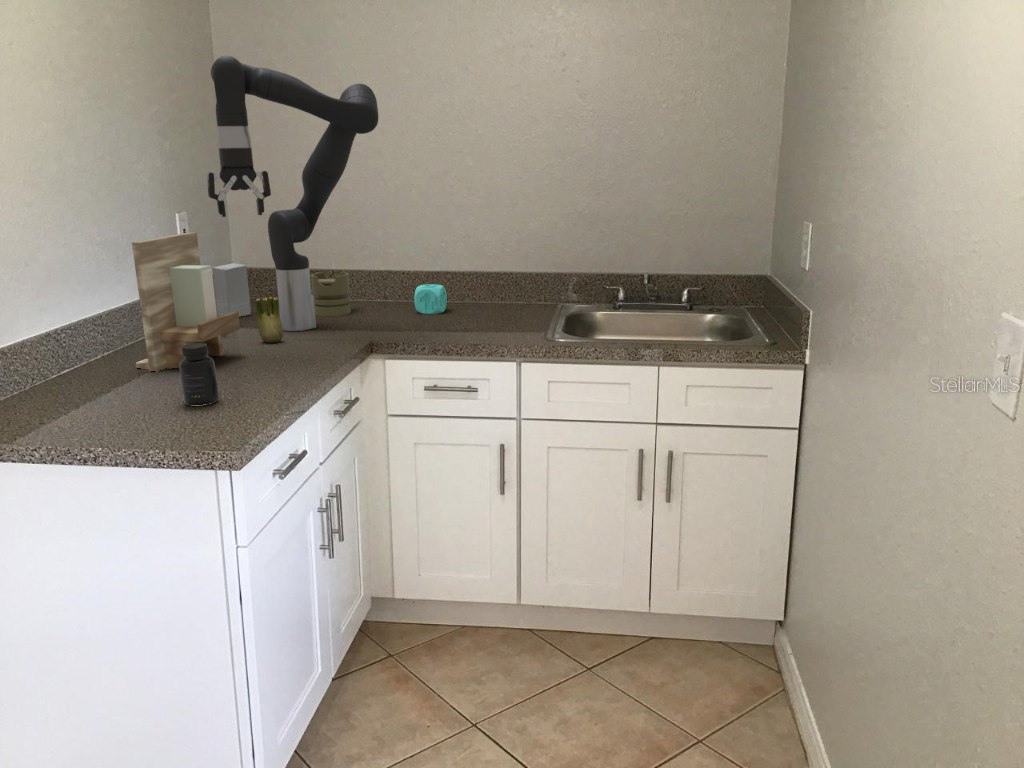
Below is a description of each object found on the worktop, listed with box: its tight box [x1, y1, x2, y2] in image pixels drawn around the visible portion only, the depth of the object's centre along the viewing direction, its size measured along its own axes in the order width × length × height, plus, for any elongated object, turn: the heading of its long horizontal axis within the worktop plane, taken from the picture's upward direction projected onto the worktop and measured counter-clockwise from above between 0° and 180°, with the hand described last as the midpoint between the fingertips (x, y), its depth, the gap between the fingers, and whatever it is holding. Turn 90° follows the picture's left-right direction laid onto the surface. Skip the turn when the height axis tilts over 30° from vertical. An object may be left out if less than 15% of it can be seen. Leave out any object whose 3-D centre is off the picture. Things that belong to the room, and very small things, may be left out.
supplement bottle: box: [178, 343, 220, 405], centre depth 172 cm, size 7×7×12 cm
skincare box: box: [211, 262, 252, 318], centre depth 259 cm, size 8×7×16 cm
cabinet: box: [169, 264, 218, 327], centre depth 203 cm, size 8×5×14 cm, turn 76°
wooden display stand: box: [131, 231, 241, 373], centre depth 203 cm, size 18×22×30 cm
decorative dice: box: [413, 283, 448, 315], centre depth 262 cm, size 8×8×8 cm
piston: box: [310, 271, 352, 317], centre depth 263 cm, size 11×12×11 cm
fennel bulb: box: [255, 296, 284, 344], centre depth 225 cm, size 6×5×12 cm
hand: (242, 215), depth 206 cm, fingers open, 8 cm apart
